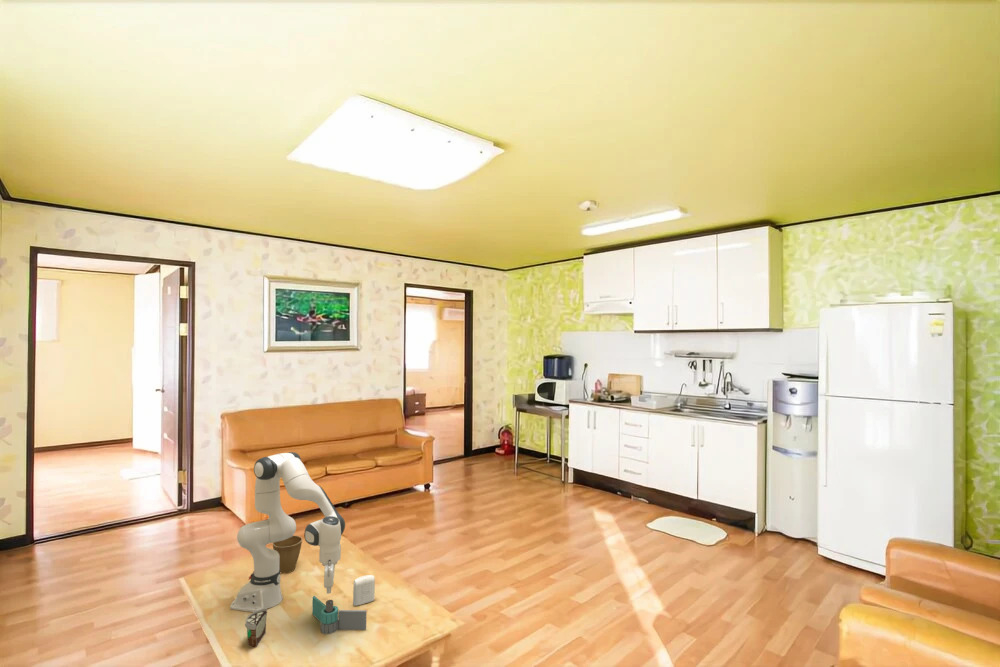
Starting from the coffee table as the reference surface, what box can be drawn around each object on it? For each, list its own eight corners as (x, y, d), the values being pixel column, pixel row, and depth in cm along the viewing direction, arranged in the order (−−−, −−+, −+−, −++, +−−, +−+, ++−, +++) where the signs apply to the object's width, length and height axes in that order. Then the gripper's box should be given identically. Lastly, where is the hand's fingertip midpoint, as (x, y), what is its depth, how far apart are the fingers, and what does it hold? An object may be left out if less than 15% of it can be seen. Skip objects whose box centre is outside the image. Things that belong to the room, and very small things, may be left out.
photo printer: (372, 597, 236) (373, 571, 236) (375, 601, 233) (376, 575, 233) (351, 603, 231) (352, 577, 231) (354, 607, 227) (354, 581, 227)
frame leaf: (318, 634, 206) (318, 615, 206) (324, 624, 213) (324, 606, 213) (363, 634, 206) (363, 615, 206) (368, 624, 213) (368, 606, 213)
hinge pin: (325, 631, 208) (325, 603, 208) (325, 627, 210) (325, 600, 211) (332, 630, 209) (333, 602, 209) (332, 626, 212) (333, 599, 212)
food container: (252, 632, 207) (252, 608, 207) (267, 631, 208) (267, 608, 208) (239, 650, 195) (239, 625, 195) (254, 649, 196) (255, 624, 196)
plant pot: (266, 571, 261) (267, 542, 262) (292, 561, 274) (292, 533, 274) (282, 579, 253) (282, 549, 253) (307, 568, 265) (307, 539, 265)
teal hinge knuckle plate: (340, 628, 210) (340, 610, 210) (325, 635, 205) (325, 616, 205) (320, 610, 223) (320, 593, 223) (305, 616, 218) (306, 599, 218)
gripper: (336, 565, 201) (336, 598, 201) (338, 544, 221) (337, 574, 221) (320, 567, 199) (320, 600, 199) (323, 546, 219) (323, 576, 219)
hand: (329, 587), depth 210 cm, fingers open, 8 cm apart
